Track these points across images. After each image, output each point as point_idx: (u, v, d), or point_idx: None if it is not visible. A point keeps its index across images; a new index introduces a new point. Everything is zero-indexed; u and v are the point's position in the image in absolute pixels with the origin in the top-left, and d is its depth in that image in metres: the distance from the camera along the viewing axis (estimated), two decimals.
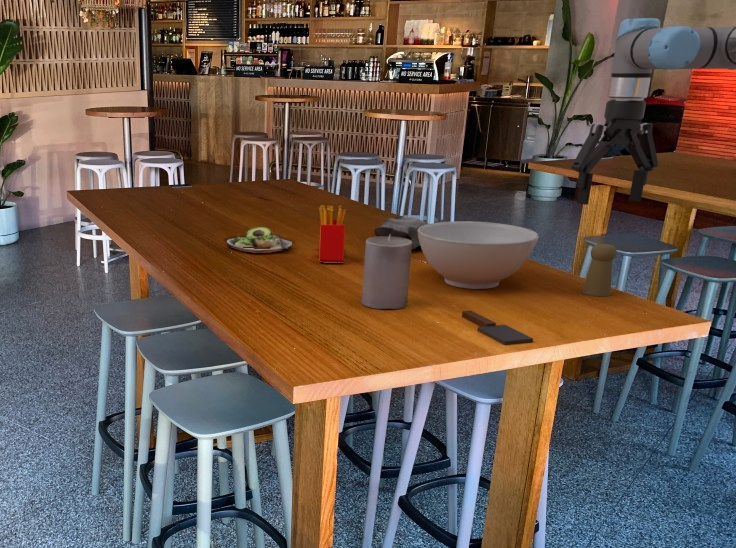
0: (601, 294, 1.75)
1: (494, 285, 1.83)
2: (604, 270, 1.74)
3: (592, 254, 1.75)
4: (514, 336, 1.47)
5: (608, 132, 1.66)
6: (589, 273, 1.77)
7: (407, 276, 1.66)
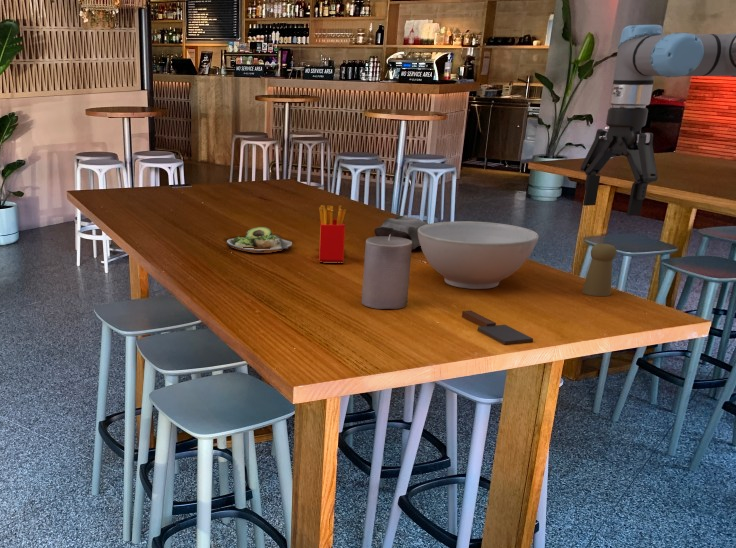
0: (601, 294, 1.75)
1: (494, 285, 1.83)
2: (604, 270, 1.74)
3: (592, 254, 1.75)
4: (514, 336, 1.47)
5: None
6: (589, 273, 1.77)
7: (407, 276, 1.66)
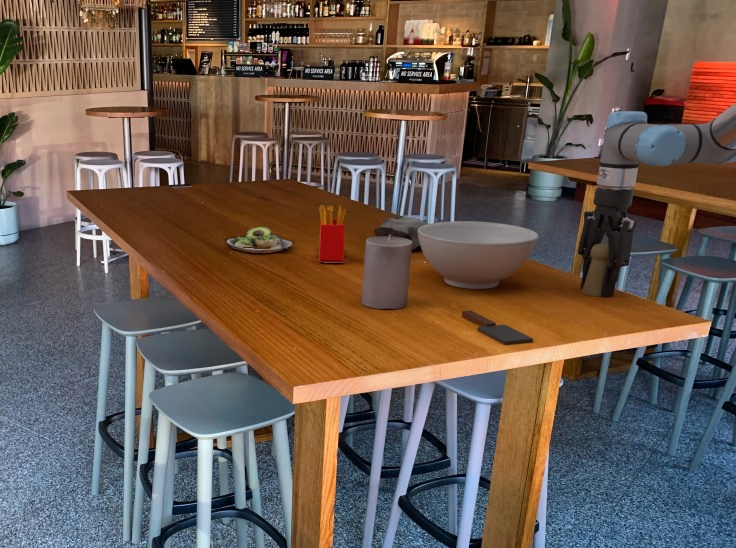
0: None
1: (494, 285, 1.83)
2: (604, 270, 1.74)
3: (592, 254, 1.75)
4: (514, 336, 1.47)
5: None
6: (589, 273, 1.77)
7: (407, 276, 1.66)
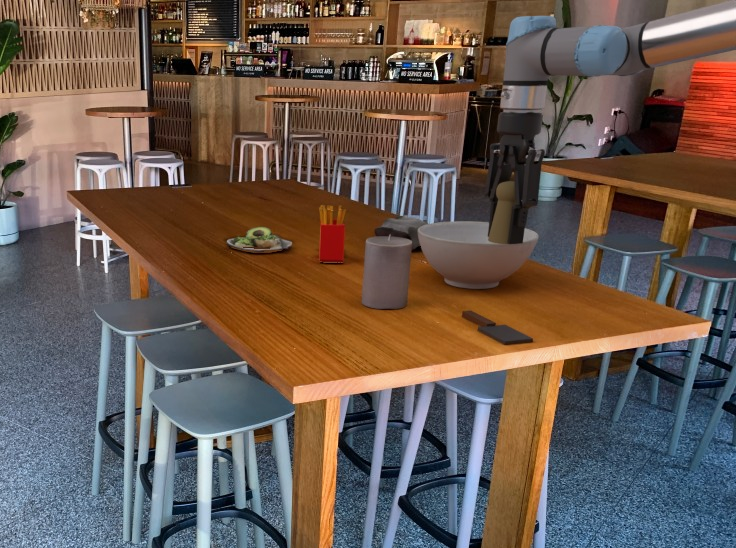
0: None
1: (494, 285, 1.83)
2: None
3: (497, 194, 1.47)
4: (514, 336, 1.47)
5: None
6: (495, 217, 1.48)
7: (407, 276, 1.66)
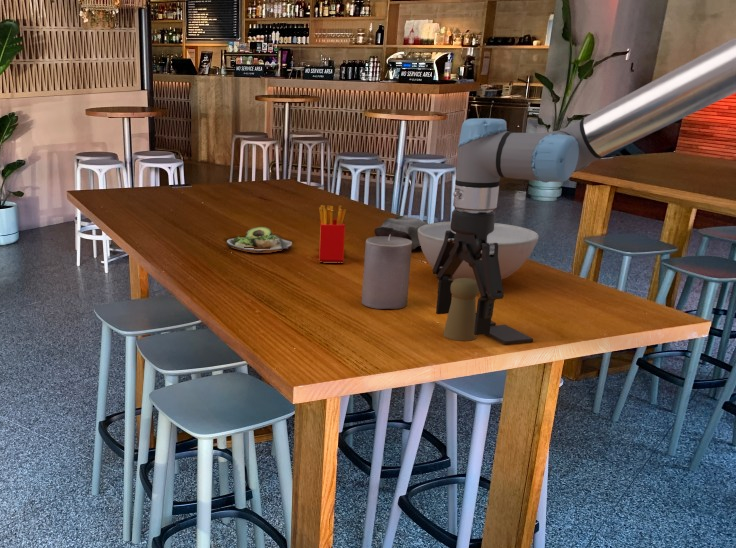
0: (463, 338, 1.47)
1: None
2: (465, 310, 1.46)
3: (451, 291, 1.47)
4: (514, 336, 1.47)
5: None
6: (449, 313, 1.48)
7: (407, 276, 1.66)
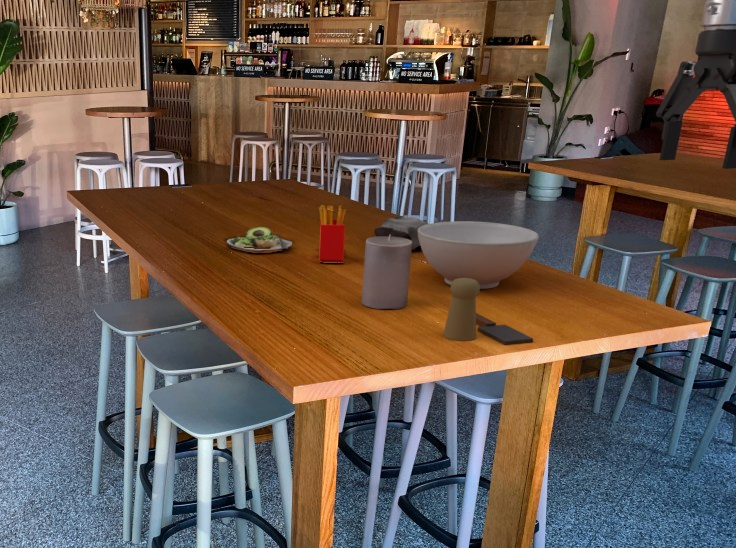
0: (463, 338, 1.47)
1: (494, 285, 1.83)
2: (465, 310, 1.46)
3: (451, 291, 1.47)
4: (514, 336, 1.47)
5: None
6: (449, 313, 1.48)
7: (407, 276, 1.66)
